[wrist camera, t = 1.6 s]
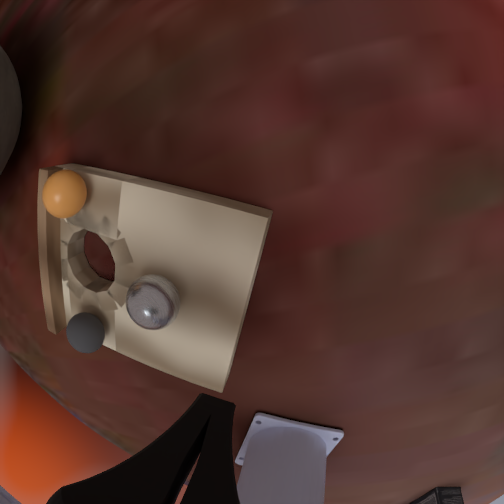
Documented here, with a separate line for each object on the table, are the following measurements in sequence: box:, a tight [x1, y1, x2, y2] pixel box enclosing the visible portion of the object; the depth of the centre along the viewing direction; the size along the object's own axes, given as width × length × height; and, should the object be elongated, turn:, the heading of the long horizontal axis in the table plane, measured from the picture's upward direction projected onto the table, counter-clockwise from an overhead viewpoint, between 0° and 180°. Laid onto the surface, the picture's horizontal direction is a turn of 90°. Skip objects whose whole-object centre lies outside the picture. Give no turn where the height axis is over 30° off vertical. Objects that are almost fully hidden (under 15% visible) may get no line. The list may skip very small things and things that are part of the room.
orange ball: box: [42, 170, 87, 218], centre depth 16 cm, size 3×3×3 cm
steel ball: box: [126, 274, 180, 330], centre depth 16 cm, size 3×3×3 cm
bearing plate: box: [38, 163, 273, 393], centre depth 19 cm, size 13×15×4 cm
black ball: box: [66, 312, 105, 353], centre depth 19 cm, size 3×3×3 cm
